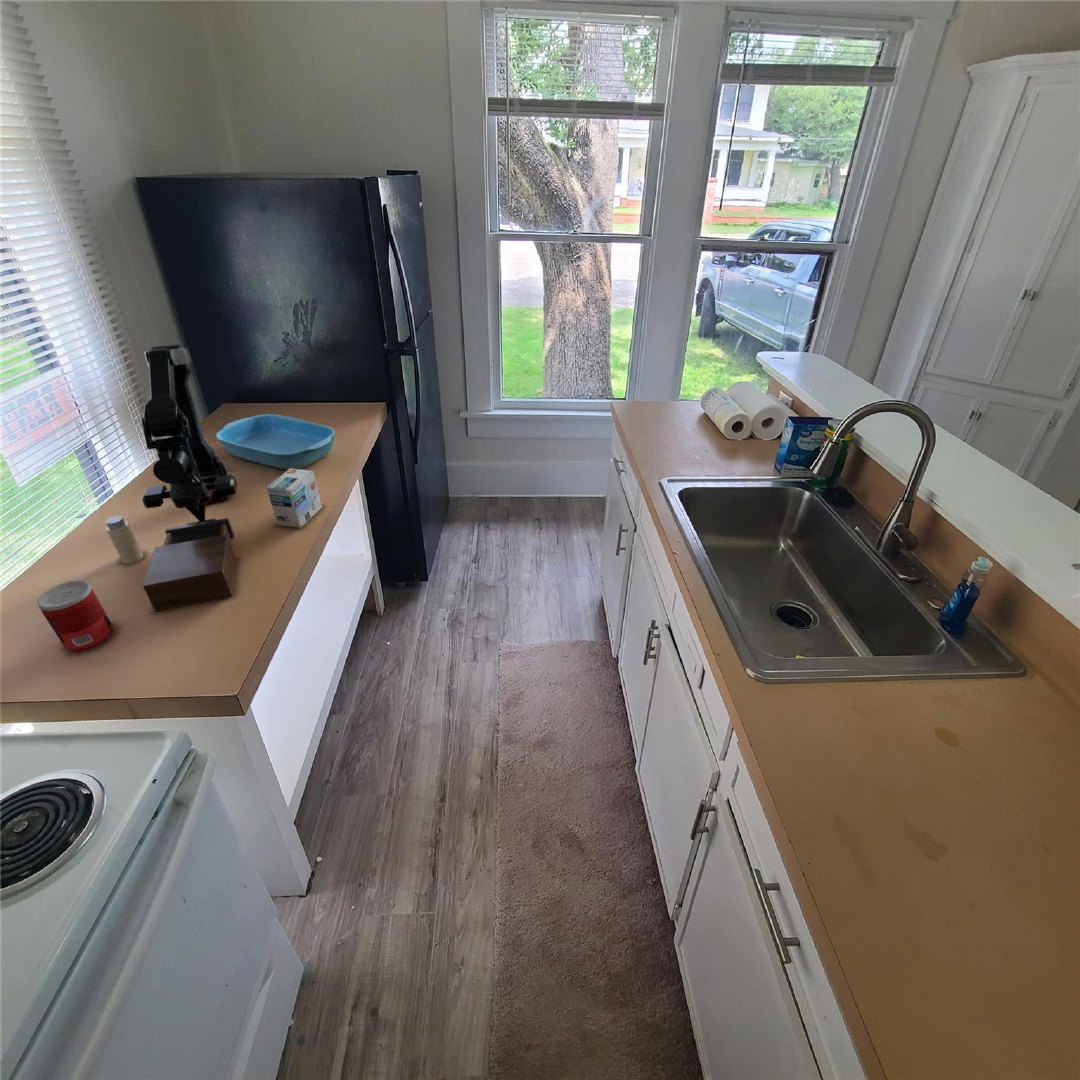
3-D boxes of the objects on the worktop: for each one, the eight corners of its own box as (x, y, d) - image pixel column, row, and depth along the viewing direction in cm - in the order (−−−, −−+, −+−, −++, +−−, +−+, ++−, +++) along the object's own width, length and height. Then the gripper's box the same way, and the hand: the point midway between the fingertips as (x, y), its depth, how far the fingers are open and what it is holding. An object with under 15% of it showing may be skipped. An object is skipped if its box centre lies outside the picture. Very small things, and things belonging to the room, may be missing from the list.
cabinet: (166, 571, 127) (154, 547, 123) (236, 558, 131) (227, 534, 127) (155, 612, 116) (142, 586, 112) (232, 596, 120) (222, 570, 116)
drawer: (176, 537, 137) (168, 519, 134) (235, 527, 141) (229, 509, 138) (164, 579, 123) (156, 560, 121) (230, 567, 127) (223, 548, 124)
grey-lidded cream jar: (129, 552, 133) (110, 514, 127) (147, 553, 133) (129, 514, 127) (118, 563, 130) (98, 524, 124) (136, 563, 130) (117, 525, 124)
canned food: (124, 629, 112) (99, 584, 106) (85, 657, 106) (57, 612, 99) (95, 620, 114) (69, 576, 108) (55, 647, 108) (25, 602, 101)
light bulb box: (301, 528, 142) (290, 490, 136) (276, 525, 143) (264, 487, 137) (323, 506, 150) (314, 470, 144) (299, 504, 151) (289, 467, 145)
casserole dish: (353, 449, 179) (349, 428, 175) (301, 480, 162) (295, 458, 158) (264, 429, 191) (258, 409, 187) (207, 456, 175) (200, 434, 171)
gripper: (125, 486, 120) (153, 547, 129) (223, 472, 126) (243, 531, 134) (136, 464, 129) (161, 522, 138) (227, 451, 134) (246, 508, 143)
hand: (203, 522), depth 138 cm, fingers closed, pressing on drawer
